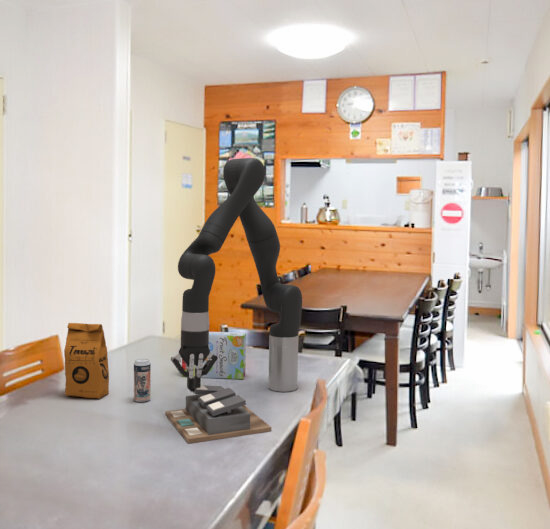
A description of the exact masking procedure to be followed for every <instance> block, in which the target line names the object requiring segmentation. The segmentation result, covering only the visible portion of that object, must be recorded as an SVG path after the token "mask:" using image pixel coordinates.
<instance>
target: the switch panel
mask: <svg viewBox="0 0 550 529" xmlns="http://www.w3.org/2000/svg"><path fill="white" fill-rule="evenodd" d="M202 396H205V395H198V394H193V395H191V394H190V395H185V408H182V409H174V410H167V411H165V412H164V413H165V414H164V415H165V416H167V417H166V418H167V419H168V420H169V422H170V423H171V424H172V425H173V426H174V427H175V430H177V431H178V433H179V434H180V436H182V437H183V439H184V440H185V442H186V443H187V444H188V445H189V444H194V443H202V442H207V441H213V440H214V441H215V440H221V439H228V438H234V437H242V436H248V435H254V434H262V433H267V432H272V426H271V425H269V424H268V423H267V422H265V421H264V419H261V418H260V416H258V415H257V414H255V413H254V411H252V410H251V409H249V408H248V407H247V406H246V405H244V406H241V407H238V408H236V409H233V410H231V413H227V412H224V413H221V414H218V415H216V416H212V415H211V414H210V413H209V412H208V411H207V409H206V407H205V408H204V407H203V406H202V405H201V404H200V403H199V402H198V398H199V397H202Z"/></svg>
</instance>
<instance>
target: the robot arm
mask: <svg viewBox="0 0 550 529" xmlns="http://www.w3.org/2000/svg"><path fill="white" fill-rule="evenodd" d="M222 171H223V172H222V174H223V181H224V183H225V186H226V189H227V191H228V193H229V196H228V197H227V198H226V199H225V200H224V201H223V202H222V203H221V204H220V205H219V206H218V207H217V208H215V210H214V211H213V212H212V213H211V214H210V215H209V216H208V218H207V219H206V221H205V223H204V224H203V226H202V228H201V229H200V232H199V233H198V236H197V237H196V238H195V239H194V240H193V241H192V242H191V243H190V245H189V246H188V247H187V248H186V249H185V250H184V251H183V252H182V254H181V256H180V257H179V259H178V263H177V271H178V274H179V275H180V276H181V277H182V278H183V279H186V280H192V281H193V283H192V286H191V288H188V289H186V290H184V292H182V305H181V306H182V308H181V309H182V311H181V318H180V348H179V350H178V353H177V354H176V355H175V356H172V357H170V361H171V363H172V364H173V366H174V367H175V368H176V369H177V371H178V373H179V374H180V375H181V376H182V375H183V376H184V377H183V378H187V379H186V381H187V382H186V388H187V389H188V390H189V392H190V393H193V392H194V387H195V388H200V387H201V385H202V384H201V382H202V381H201V377H202V376H203V375H207V374H208V372H209V371H210V369H211V368H212V366H213V365H214V363H215V362H216V360H217V359H218V357H217V356H216V355H214V354H212V353H210V349H209V347H208V345H209V332H210V315H209V307H210V305H209V304H210V300H209V299H210V298H209V297H210V294H211V291H212V287H213V283H214V279H215V276H216V264H215V261H214V259H213V258H212V257H211V256H210V255H212V254H216V253H218V252H219V251H221V248H222V247H223V245H224V244H225V241H226V239H227V238H228V235H229V233H230V231H231V230H232V228H233V226H234V224H235V223H236V221H237V220H238V219H239V220H240V223H241V225H242V228H243V231H244V234H245V237H246V241H247V244H248V247H249V250H250V252H251V256H252V258H253V261H254V264H255V269H256V271H257V274H258V275H257V276H258V278H259V283H260V288H261V293H262V297H263V301H264V303H265V304H264V305H265V306H266V308H267V309H268V310H269V311H271V312H273V313H278V314H280V319H279V321H278V322H277V323H273V324H270V326H269V340H268V346H269V347H268V389H269V390H271V391H274V392H282V393H283V392H284V393H285V392H286V393H287V392H293V391H296V390H297V389H298V377H299V376H298V374H299V373H298V372H299V370H298V369H299V367H298V366H299V364H298V363H299V331H300V328H301V324H302V323H301V322H302V313H303V311H302V310H303V295H302V291H301V289H300V288H299V287H298V286H297V285H293V284H288V283H287V284H286V283H281V281H280V279H279V276H278V273H277V272H278V271H277V262H278V260H279V256H280V252H281V243H280V239H279V236H278V233H277V230H276V227H275V224H274V223H273V221H272V220H271V218H270V217H269V216H268V215H267V214H266V212H264V210H263V209H262V208H261V207H260V205H258V203H257V202H256V200H255V198H254V196H255V195H256V194H257V193H258V191H259V190H260V188H261V187H262V185H263V184H264V181H265V177H266V168H265V165H264V163H263V162H262V161H261V160H260V159H258V158H255V157H242V158H232V159H229V160H227V161H226V162H225V164H224V166H223V170H222ZM206 358H207V362H206V363H205V365H204V366H203V368H202V365H203V362H204V361H205V359H206ZM182 359H183V361H184V362H185V363H186V369H187V371H185V370H184V369H183V367H182ZM194 367H195V373H194V374H195V376H194V377H193V370H194Z"/></svg>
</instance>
